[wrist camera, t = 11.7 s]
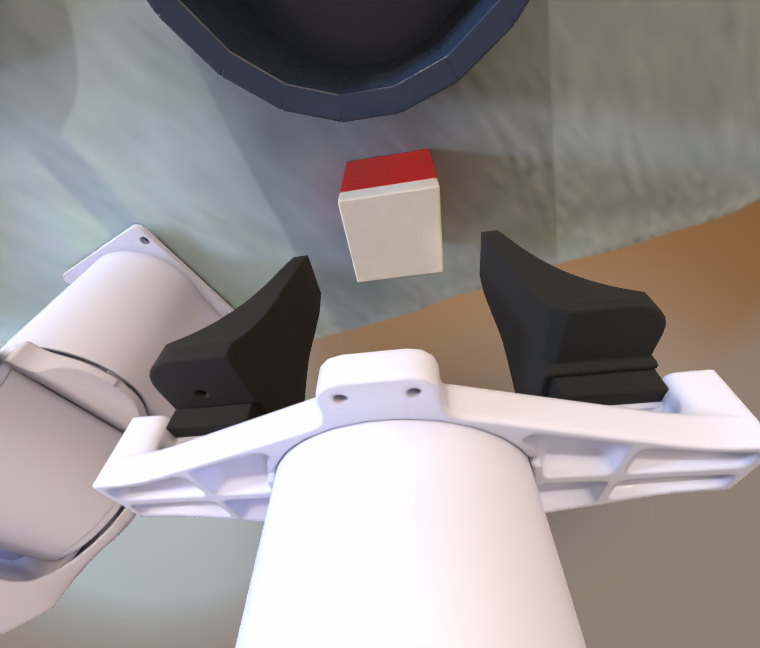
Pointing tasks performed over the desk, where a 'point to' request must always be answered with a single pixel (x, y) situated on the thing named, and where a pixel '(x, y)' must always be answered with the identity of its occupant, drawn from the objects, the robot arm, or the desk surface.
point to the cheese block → (392, 216)
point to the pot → (341, 48)
